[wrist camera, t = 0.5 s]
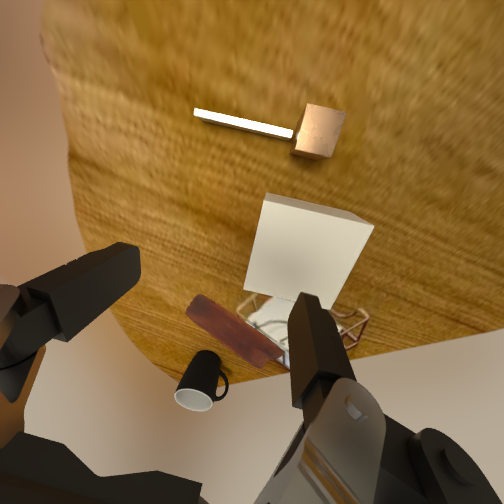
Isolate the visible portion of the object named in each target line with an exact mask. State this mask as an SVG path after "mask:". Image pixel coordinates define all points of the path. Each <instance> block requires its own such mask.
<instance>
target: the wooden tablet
mask: <svg viewBox="0 0 504 504" xmlns="http://www.w3.org/2000/svg"><path fill="white" fill-rule="evenodd" d="M185 313H186V315H187V316H188V317H189V318H190V319H191V320H192V321H193V322H194V323H196V324H197V325H198V326H200V327H201V328H202V329H204V330H205V331H207V332H208V333H209V334H210V335H212V336H213V337H214V338H216V339H217V340H218V341H219V342H221V343H222V344H223V345H225V346H226V347H227V348H229V349H230V350H231V351H233V352H234V353H235V354H237V355H238V356H240V357H241V358H243V359H244V360H245V361H247V362H248V363H250V364H251V365H253V366H255V367H257V368H261V367H263V366H264V365H265V364H266V363H267V360H268V359H270V360H273V359H277V358H279V357H281V356H282V355H283V354H284V352H283V351H282V350H281V349H280V348H279V347H278V346H277V345H275V344H274V343H273V342H272V341H270V340H269V339H268V338H267V337H265V336H264V335H263V334H261V333H260V332H258V331H257V330H256V329H254V328H253V327H251V326H250V325H248V324H247V323H245V322H244V321H243V320H241V319H240V318H238V317H237V316H235V315H234V314H232V313H231V312H229V311H228V310H226V309H225V308H223V307H222V306H220V305H219V304H217V303H215V302H214V301H212V300H211V299H209V298H207V297H206V296H203V295H200V294H199V295H197V296H196V297H195V298H194V299H193V301H192V302H191V303H190V306H188V308H187V310H186V312H185Z"/></svg>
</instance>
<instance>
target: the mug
mask: <svg viewBox="0 0 504 504" xmlns="http://www.w3.org/2000/svg"><path fill="white" fill-rule="evenodd" d="M219 375H220V376H222V378H223V379H224V381H225V386H226V388H225V392H224V394H223V395H222V396H220V397H217V396H216V389H217V384H218V378H219ZM228 387H229V383H228V379H227V377H226V375H225V374H224V373H223V372H222V371H221V370H220V361H219V358H218V356H217V355H216V354H215V353H213V352H211V351H207V350H204V351H200V352H198V353H197V354H196V355H195V356H194V358H193V359H192V361H191V362H190V364H189V366H188V367H187V369H186V371H185V373H184V375H183V377H182V379H181V381H180V383H179V385H178V387H177V389H176V392H175V395H174V397H175V400H176V401H177V402H178V403H179V404H180V405H181V406H183V407H185V408H187V409H190V410H193V411H206V410H209V409H210V408H211V407H212V405H213V402H214V401H219V400H222V399H223V398H224V397H225V396H226V394H227V392H228Z"/></svg>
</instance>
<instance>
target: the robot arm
mask: <svg viewBox="0 0 504 504" xmlns="http://www.w3.org/2000/svg"><path fill="white" fill-rule="evenodd" d="M140 276H141V265H140V250H139V248H138V247H137V246H134V245H131V244H127V243H123V242H117V243H115V244H113V245H111V246H109V247H107V248H105V249H101V250H97V251H93V252H90V253H88V254H86V255H83V256H81V257H79V258H78V259H77V260H76V259H75V260H73V261H71V262H69V263H67V265H62V266H60V267H58V268H56V269H54V270H51V271H49V272H47V273H45V274H43V275H41V276H39V277H37V278H34V279H32V280H30V281H28V282H26V283H24V284H22V285H19V286H17V287H16V286H13V285H8V284H0V504H209V503H208V502H207V501H205V500H204V499H203V498H202V497H201V496H200V492H201V487H202V483H199V482H195V481H192V480H188V479H185V478H181V477H178V476H174V475H171V474H167V473H164V472H160V471H149V472H141V473H133V474H125V475H116V476H107V477H100V476H97V475H96V474H94V473H93V472H92V471H91V470H90V469H89V468H88V467H87V466H86V465H85V464H84V463H83V462H82V461H81V460H80V459H79V458H78V457H76V455H75V454H74V453H73V452H71V451H70V450H69V449H68V448H67V447H66V446H65V445H64V444H62V443H59V442H55V441H51V440H48V439H44V438H41V437H38V436H34V435H31V434H27V433H24V408H25V405H26V402H27V399H28V397H29V394H30V391H31V389H32V386H33V383H34V381H35V378H36V375H37V373H38V370H39V368H40V365H41V362H42V360H43V357H44V354H45V352H46V346H45V344H46V343H47V342H48V341H50V340H51V339H52V338H53V339H57V340H60V341H64V342H68V341H69V340H71V339H72V338H73V337H74V336H75V335H77V334H78V333H79V332H80V331H81V330H82V329H84V328H85V327H86V326H87V325H89V324H90V323H91V322H92V321H93V320H94V319H96V318H97V317H98V316H99V315H100V314H101V313H103V312H104V311H105V310H106V309H107V308H109V307H110V306H111V305H112V304H113V303H115V302H116V301H117V300H118V299H119V298H120V297H122V296H123V295H124V294H125V293H126V292H128V291H129V290H130V289H131V288H132V287H133V286H135V285H136V284H137V282H138V281H139V279H140ZM288 344H289V360H290V376H291V391H292V392H291V393H292V406H293V407H295V408H299V409H302V410H303V417H304V421H303V422H302V423H301V425H300V427H299V428H298V430H297V432H296V434H295V435H294V437H293V439H292V441H291V442H290V444H289V446H288V448H287V450H286V451H285V453H284V455H283V457H282V458H281V460H280V462H279V463H278V465H277V467H276V469H275V470H274V472H273V474H272V476H271V477H270V479H269V481H268V482H267V484H266V485H265V487H264V488H263V490H262V491H261V493H260V494H259V496H258V497H257V499H256V501H255V502H254V504H502V502H501V500H500V499H499V497H498V496H497V494H496V493H495V491H494V489H493V488H492V486H491V485H490V483H489V482H488V480H487V479H486V477H485V475H484V474H483V473H482V471H481V470H480V468H479V467H478V466H477V464H476V463H475V462H474V461H473V459H472V458H471V457H470V456H469V455H468V454H467V453H466V452H465V451H464V450H463V449H462V448H461V447H460V446H459V445H458V444H457V443H456V442H454V441H453V440H452V439H451V438H450V437H448V436H447V435H445V434H444V433H442V432H440V431H438V430H436V429H432V428H425V429H423V430H421V431H420V432H419V433H417V434H416V433H414V432H413V431H411V430H409V429H408V428H406V427H405V426H403V425H401V424H400V423H398V422H396V421H395V420H393V419H392V418H390V417H388V416H387V415H385V414H384V413H383V412H382V410H381V408H380V406H379V404H378V403H377V401H376V400H375V398H374V397H373V396H372V395H371V393H370V392H369V391H368V390H367V389H365V387H363V386H362V385H361V384H359V383H358V382H357V380H356V378H355V375H354V372H353V370H352V367H351V364H350V361H349V359H348V356H347V353H346V350H345V348H344V345H343V342H341V337H340V334H339V332H338V328H337V326H336V323H335V320H334V319H333V317H332V316H331V315H330V313H329V312H328V311H327V310H326V309H322V307H321V304H320V301H319V298H318V296H316V295H312V294H308V293H305V292H300V294H299V296H298V298H297V300H296V302H295V304H294V306H293V309H292V311H291V313H290V315H289V319H288Z"/></svg>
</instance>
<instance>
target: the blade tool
mask: <svg viewBox="0 0 504 504" xmlns="http://www.w3.org/2000/svg"><path fill="white" fill-rule="evenodd" d="M346 114H347V112H343V111H338V110H334V109H330V108H325V107H321V106H317V105H312V104H307V106H306V108H305V109H304V111H303V113H302V115H301V117H300V119H299V121H298V123H297V127H296V131H295V134H294V138H293V142H292V146H291V149H290V153H289V154H291V155H296V156H300V157H304V158H309V159H313V160H319V159H324V158H330V157H331V156H332V153H333V151H334V148H335V145H336V142H337V139H338V137H339V134H340V131H341V128H342V126H343V123H344V120H345V117H346ZM194 116H196V117H197V118H199V119H200V120H202V121H205V122H210V123H214V124H218V125H223V126H227V127H231V128H235V129H240V130H244V131H248V132H253V133H257V134H261V135H266V136H270V137H274V138H279V139H283V140H287V141H289V140H290V139H291V136H292V132H293V131H292V130H288V129H284V128H279V127H275V126H271V125H266V124H262V123H258V122H253V121H249V120H245V119H240V118H236V117H232V116H227V115H223V114H219V113H214V112H210V111H206V110H201V109H197V108H194Z"/></svg>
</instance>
